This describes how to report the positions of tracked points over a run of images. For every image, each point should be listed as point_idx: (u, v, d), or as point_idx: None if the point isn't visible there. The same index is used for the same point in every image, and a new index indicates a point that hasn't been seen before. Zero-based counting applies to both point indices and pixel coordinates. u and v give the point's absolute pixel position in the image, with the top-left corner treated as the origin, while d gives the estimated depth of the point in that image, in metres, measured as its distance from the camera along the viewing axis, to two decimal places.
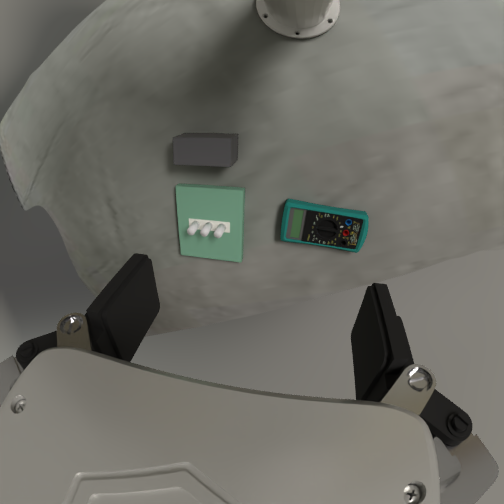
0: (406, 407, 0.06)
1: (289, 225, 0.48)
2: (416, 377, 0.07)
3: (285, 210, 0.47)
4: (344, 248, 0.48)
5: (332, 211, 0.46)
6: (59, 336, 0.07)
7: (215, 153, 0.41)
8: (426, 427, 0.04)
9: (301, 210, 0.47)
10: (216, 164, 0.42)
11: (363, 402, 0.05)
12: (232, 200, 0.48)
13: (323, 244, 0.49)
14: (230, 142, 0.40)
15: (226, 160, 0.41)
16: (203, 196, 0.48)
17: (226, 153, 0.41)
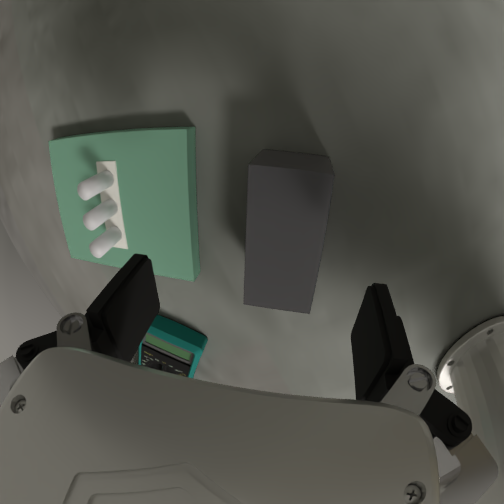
0: (406, 407, 0.06)
1: (164, 339, 0.28)
2: (416, 377, 0.07)
3: (189, 346, 0.27)
4: None
5: None
6: (59, 336, 0.07)
7: (276, 279, 0.18)
8: (426, 427, 0.04)
9: (189, 358, 0.29)
10: (248, 277, 0.18)
11: (363, 402, 0.05)
12: (171, 259, 0.23)
13: (140, 362, 0.31)
14: (300, 310, 0.18)
15: (258, 298, 0.19)
16: (168, 200, 0.20)
17: (275, 301, 0.18)
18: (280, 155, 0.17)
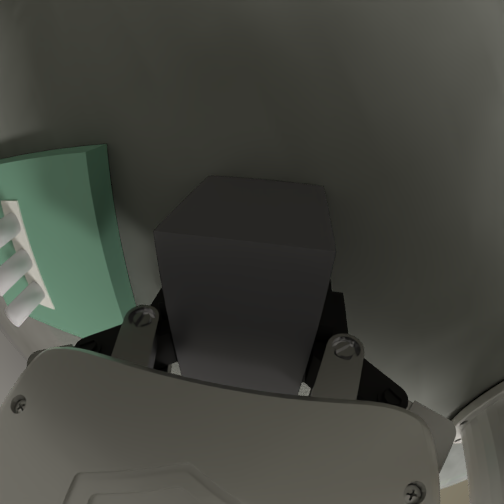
0: (325, 371, 0.07)
1: None
2: (341, 346, 0.08)
3: None
4: None
5: None
6: (130, 329, 0.08)
7: None
8: (426, 427, 0.04)
9: None
10: None
11: (363, 402, 0.05)
12: (103, 328, 0.15)
13: None
14: None
15: None
16: (81, 256, 0.12)
17: None
18: (233, 191, 0.09)
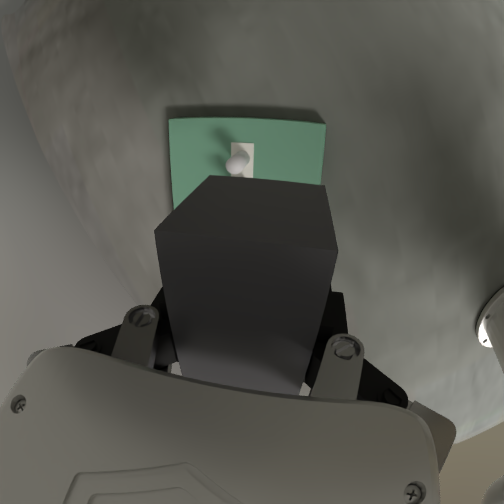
0: (325, 371, 0.07)
1: None
2: (341, 347, 0.08)
3: None
4: None
5: None
6: (130, 329, 0.08)
7: None
8: (426, 427, 0.04)
9: None
10: None
11: (363, 402, 0.05)
12: None
13: None
14: None
15: None
16: (302, 179, 0.25)
17: None
18: (234, 190, 0.09)
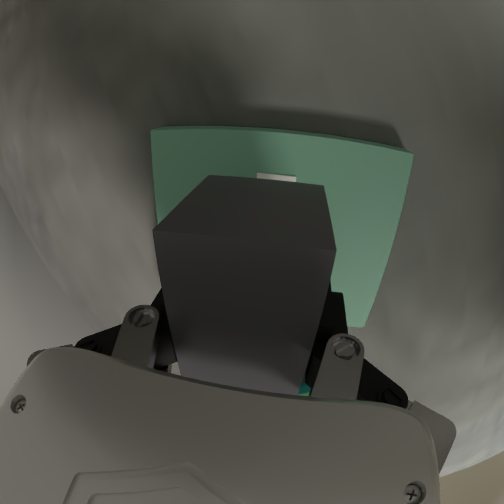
0: (325, 371, 0.07)
1: None
2: (341, 346, 0.08)
3: None
4: None
5: None
6: (130, 329, 0.08)
7: None
8: (426, 427, 0.04)
9: None
10: None
11: (363, 402, 0.05)
12: None
13: None
14: None
15: None
16: (368, 237, 0.15)
17: None
18: (233, 190, 0.09)
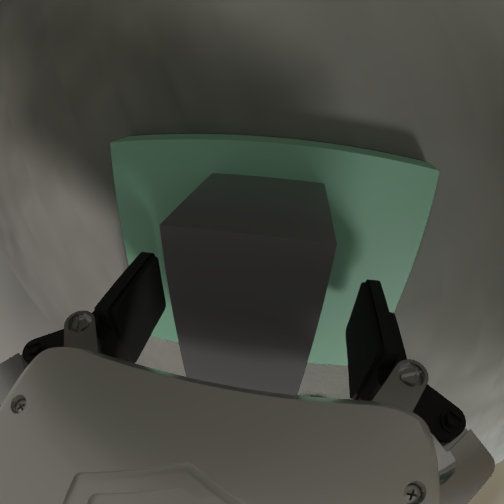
0: (397, 402, 0.06)
1: None
2: (408, 372, 0.07)
3: None
4: None
5: None
6: (67, 334, 0.08)
7: None
8: (426, 427, 0.04)
9: None
10: None
11: (363, 402, 0.05)
12: (346, 346, 0.15)
13: None
14: None
15: None
16: (378, 272, 0.12)
17: None
18: (236, 188, 0.10)
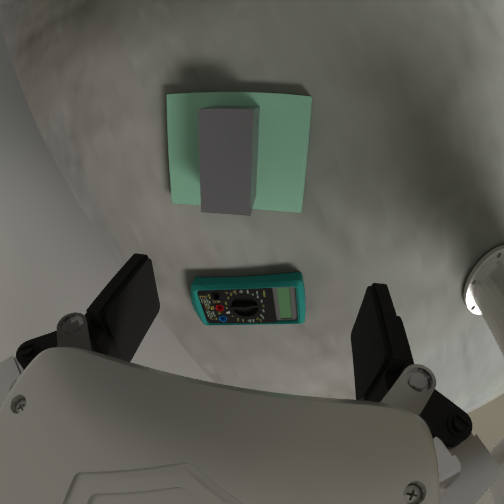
0: (406, 407, 0.06)
1: (294, 300, 0.36)
2: (416, 377, 0.07)
3: (303, 317, 0.36)
4: (210, 289, 0.36)
5: (246, 324, 0.39)
6: (59, 336, 0.07)
7: (222, 188, 0.24)
8: (426, 427, 0.04)
9: (283, 318, 0.37)
10: (203, 189, 0.24)
11: (363, 402, 0.05)
12: (284, 195, 0.29)
13: (240, 289, 0.35)
14: (242, 213, 0.25)
15: (211, 205, 0.25)
16: (291, 146, 0.26)
17: (223, 206, 0.25)
18: (223, 106, 0.23)
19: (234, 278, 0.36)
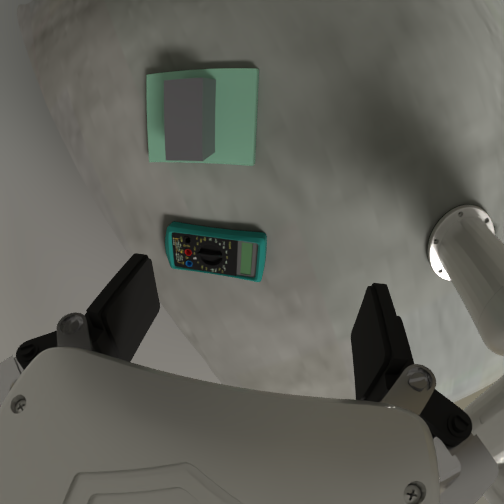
0: (406, 407, 0.06)
1: (255, 257, 0.40)
2: (416, 377, 0.07)
3: (260, 275, 0.41)
4: (184, 233, 0.40)
5: None
6: (59, 336, 0.07)
7: (181, 140, 0.29)
8: (426, 427, 0.04)
9: (243, 273, 0.42)
10: (167, 141, 0.29)
11: (363, 402, 0.05)
12: (238, 150, 0.33)
13: (210, 237, 0.39)
14: (197, 159, 0.30)
15: (173, 154, 0.30)
16: (241, 109, 0.31)
17: (182, 154, 0.30)
18: None
19: (206, 227, 0.41)
